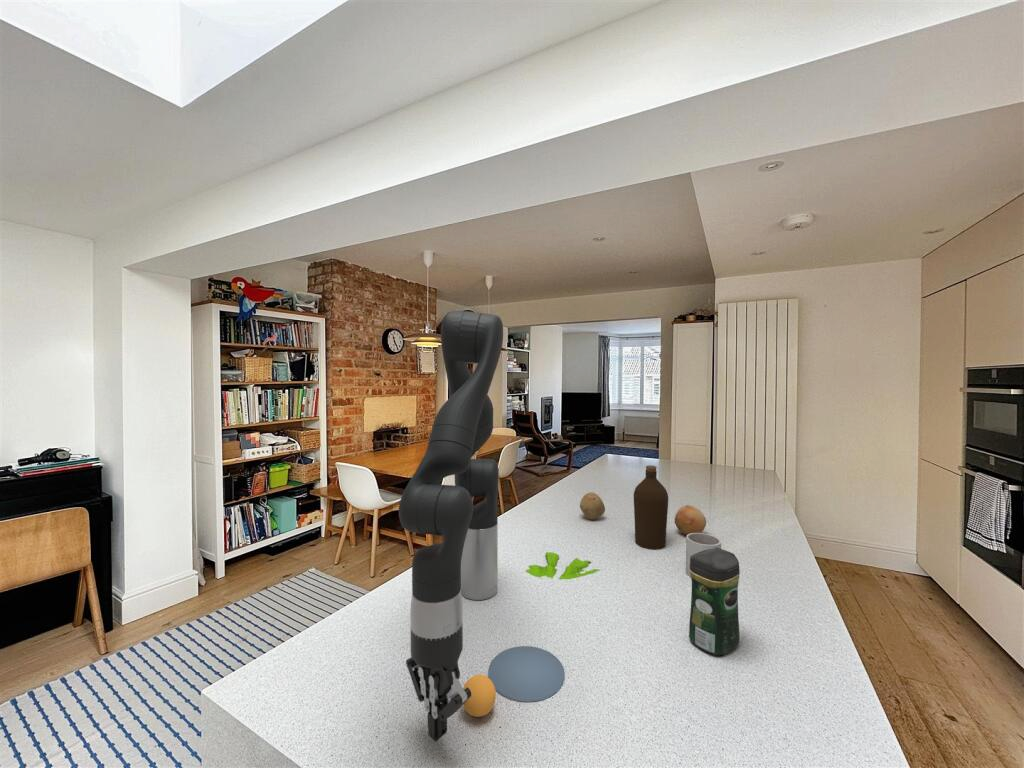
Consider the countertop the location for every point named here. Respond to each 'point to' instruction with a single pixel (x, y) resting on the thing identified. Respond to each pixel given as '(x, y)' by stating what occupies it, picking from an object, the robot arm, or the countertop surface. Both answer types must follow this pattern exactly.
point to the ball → (480, 695)
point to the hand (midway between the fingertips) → (437, 735)
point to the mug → (699, 545)
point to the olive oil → (650, 511)
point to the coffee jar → (714, 601)
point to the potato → (592, 506)
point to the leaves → (550, 569)
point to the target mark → (526, 674)
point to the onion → (690, 520)
